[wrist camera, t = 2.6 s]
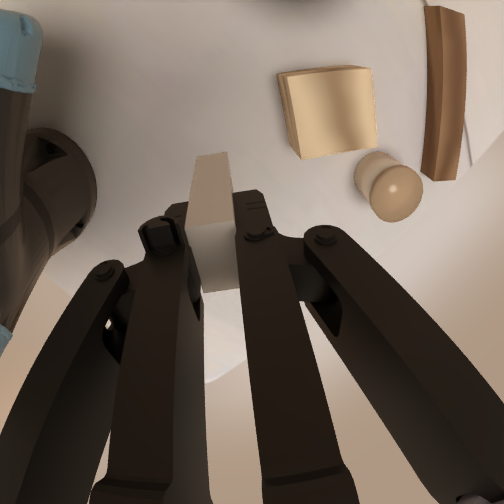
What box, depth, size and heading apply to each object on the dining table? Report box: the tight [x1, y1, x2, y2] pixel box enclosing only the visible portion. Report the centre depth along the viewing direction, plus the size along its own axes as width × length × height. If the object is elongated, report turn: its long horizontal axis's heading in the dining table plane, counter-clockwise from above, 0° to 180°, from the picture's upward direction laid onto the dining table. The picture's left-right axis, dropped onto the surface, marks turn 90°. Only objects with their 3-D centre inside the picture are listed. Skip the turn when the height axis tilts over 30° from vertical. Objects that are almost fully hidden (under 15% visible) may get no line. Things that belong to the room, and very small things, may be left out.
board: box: [421, 6, 467, 181], centre depth 26 cm, size 4×22×3 cm, turn 6°
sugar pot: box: [354, 152, 423, 222], centre depth 32 cm, size 7×7×6 cm
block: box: [277, 65, 378, 160], centre depth 26 cm, size 8×8×5 cm
